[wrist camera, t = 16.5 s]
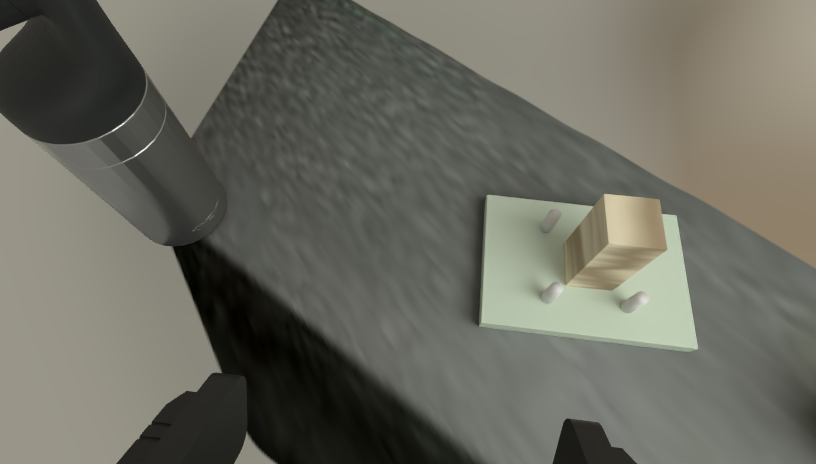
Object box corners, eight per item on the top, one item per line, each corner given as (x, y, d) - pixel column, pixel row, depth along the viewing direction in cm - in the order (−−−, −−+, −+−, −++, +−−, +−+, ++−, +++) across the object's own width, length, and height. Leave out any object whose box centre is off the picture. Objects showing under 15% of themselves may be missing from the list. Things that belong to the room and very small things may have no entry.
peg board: (478, 326, 43) (487, 314, 39) (484, 201, 49) (492, 179, 45) (688, 351, 43) (719, 341, 39) (668, 222, 49) (693, 201, 45)
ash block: (565, 285, 44) (608, 243, 35) (563, 244, 46) (603, 193, 37) (612, 290, 44) (667, 249, 35) (607, 248, 46) (659, 199, 37)
